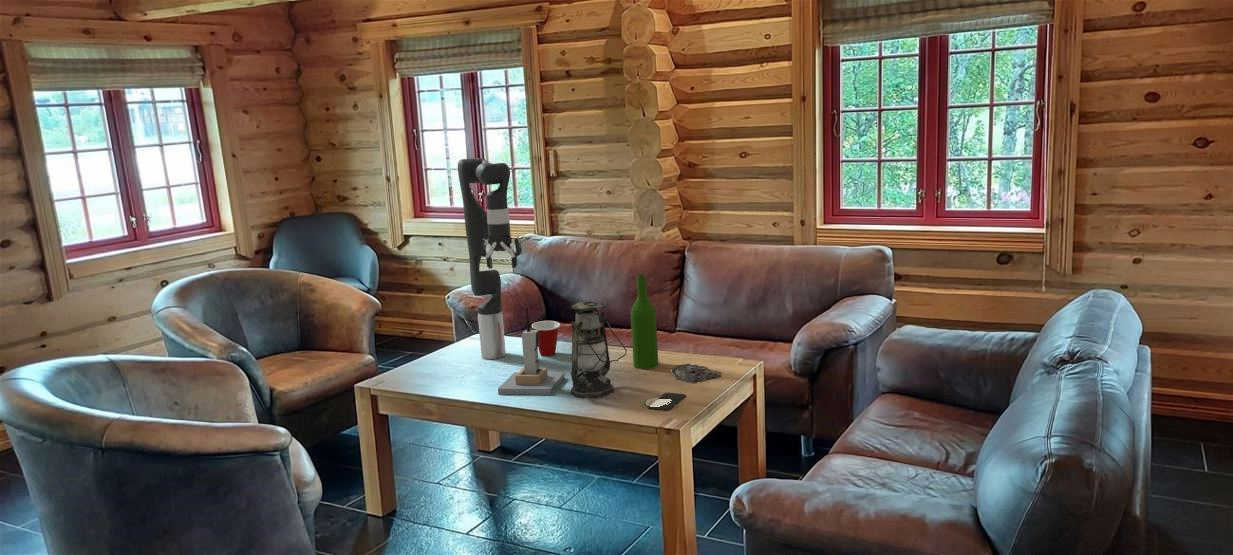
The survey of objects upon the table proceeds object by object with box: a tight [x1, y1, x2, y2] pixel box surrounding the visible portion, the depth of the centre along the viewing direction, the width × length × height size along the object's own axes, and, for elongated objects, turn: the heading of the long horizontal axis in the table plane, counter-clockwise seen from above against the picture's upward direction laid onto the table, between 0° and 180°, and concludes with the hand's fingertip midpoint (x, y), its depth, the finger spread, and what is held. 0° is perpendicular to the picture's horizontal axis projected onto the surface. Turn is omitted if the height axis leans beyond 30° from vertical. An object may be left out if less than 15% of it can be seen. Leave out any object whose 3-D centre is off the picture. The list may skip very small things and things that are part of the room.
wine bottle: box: [630, 274, 659, 370], centre depth 313 cm, size 9×9×32 cm
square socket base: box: [497, 367, 566, 396], centre depth 300 cm, size 18×18×5 cm
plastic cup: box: [531, 320, 561, 357], centre depth 337 cm, size 11×11×12 cm
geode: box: [671, 363, 722, 384], centre depth 301 cm, size 19×4×15 cm
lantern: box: [569, 300, 627, 399], centre depth 287 cm, size 19×19×30 cm
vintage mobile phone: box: [521, 307, 540, 375], centre depth 298 cm, size 4×5×25 cm
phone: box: [647, 392, 687, 412], centre depth 276 cm, size 7×1×15 cm
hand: (502, 268), depth 309 cm, fingers open, 8 cm apart
